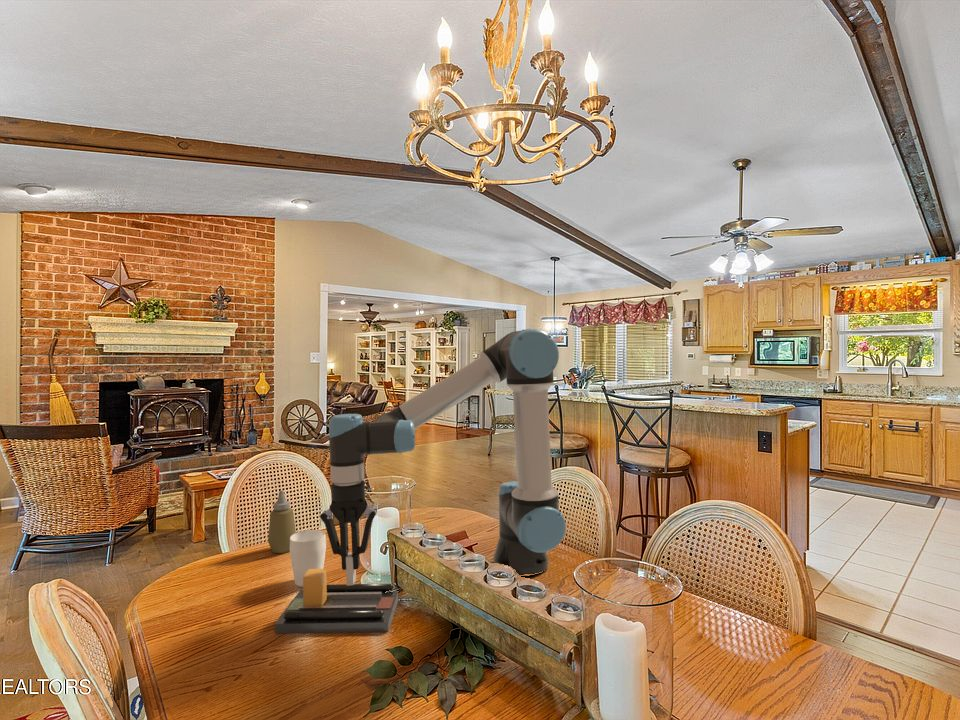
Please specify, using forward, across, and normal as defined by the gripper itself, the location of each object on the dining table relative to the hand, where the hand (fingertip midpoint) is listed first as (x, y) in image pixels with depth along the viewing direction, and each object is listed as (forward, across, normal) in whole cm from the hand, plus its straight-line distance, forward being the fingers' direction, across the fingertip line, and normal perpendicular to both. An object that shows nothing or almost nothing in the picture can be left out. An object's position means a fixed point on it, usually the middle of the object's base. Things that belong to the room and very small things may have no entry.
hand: (351, 582), depth 115 cm
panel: (+6, +2, +2) cm, 7 cm away
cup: (+6, +15, -14) cm, 21 cm away
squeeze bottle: (+6, +29, -36) cm, 46 cm away
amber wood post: (+4, +8, +2) cm, 9 cm away
